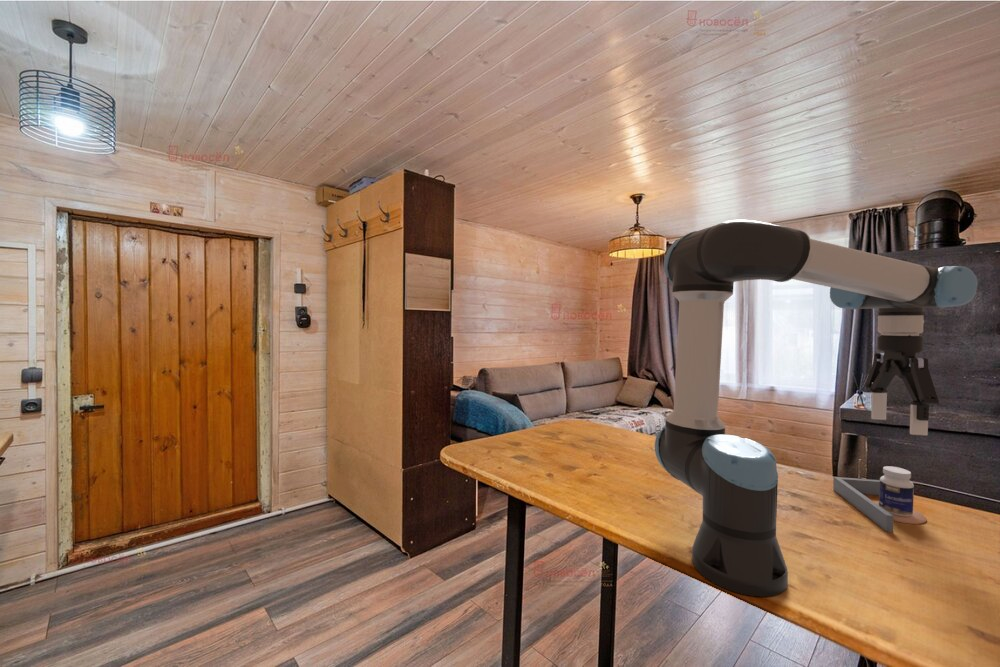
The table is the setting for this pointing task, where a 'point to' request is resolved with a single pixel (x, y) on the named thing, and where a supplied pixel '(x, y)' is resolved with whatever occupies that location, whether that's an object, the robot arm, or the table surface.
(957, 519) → the table surface
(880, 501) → the pill bottle
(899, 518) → the pad
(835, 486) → the low walls
